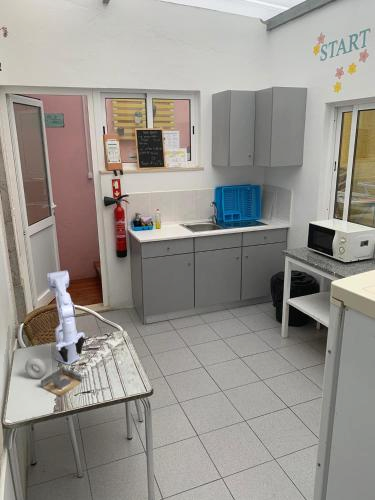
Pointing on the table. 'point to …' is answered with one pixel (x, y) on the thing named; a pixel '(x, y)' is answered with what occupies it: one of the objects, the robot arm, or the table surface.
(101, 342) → the table surface
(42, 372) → the donut
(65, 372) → the tray
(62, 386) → the bracket
